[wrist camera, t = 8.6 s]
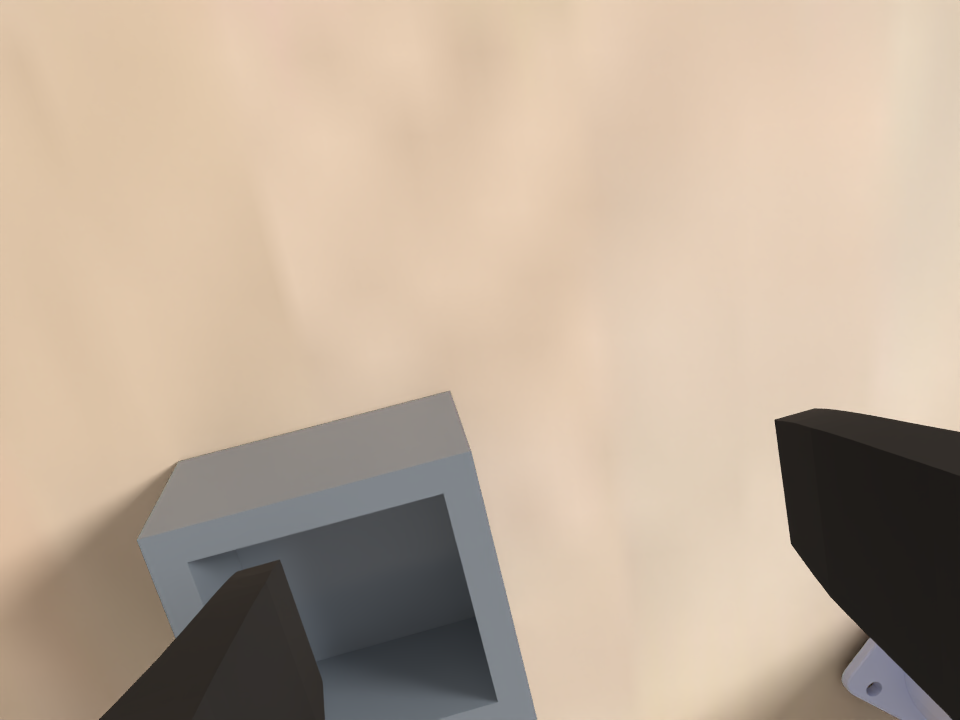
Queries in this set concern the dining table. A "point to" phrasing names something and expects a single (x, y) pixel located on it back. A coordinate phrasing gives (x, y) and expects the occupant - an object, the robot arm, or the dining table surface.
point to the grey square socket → (357, 559)
